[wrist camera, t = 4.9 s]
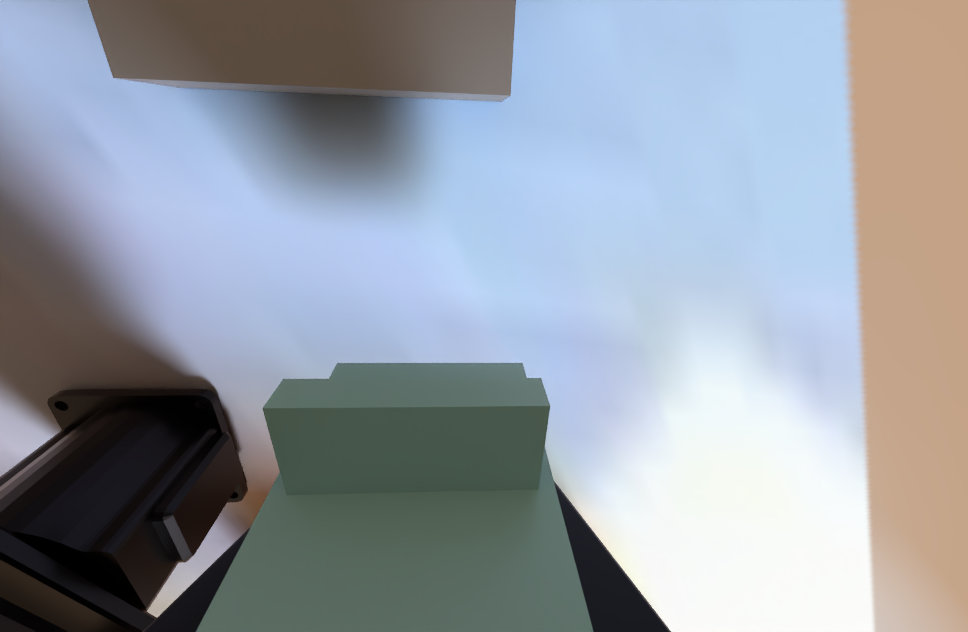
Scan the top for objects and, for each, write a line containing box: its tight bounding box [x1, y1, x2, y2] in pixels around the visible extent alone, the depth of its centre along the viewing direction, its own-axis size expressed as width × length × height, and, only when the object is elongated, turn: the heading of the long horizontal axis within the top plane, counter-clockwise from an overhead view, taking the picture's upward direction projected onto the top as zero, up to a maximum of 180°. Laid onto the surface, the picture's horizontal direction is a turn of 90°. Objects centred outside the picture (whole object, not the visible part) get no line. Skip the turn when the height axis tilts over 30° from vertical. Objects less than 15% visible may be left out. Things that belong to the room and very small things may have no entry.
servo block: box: [196, 363, 593, 632], centre depth 7 cm, size 4×7×6 cm, turn 178°
